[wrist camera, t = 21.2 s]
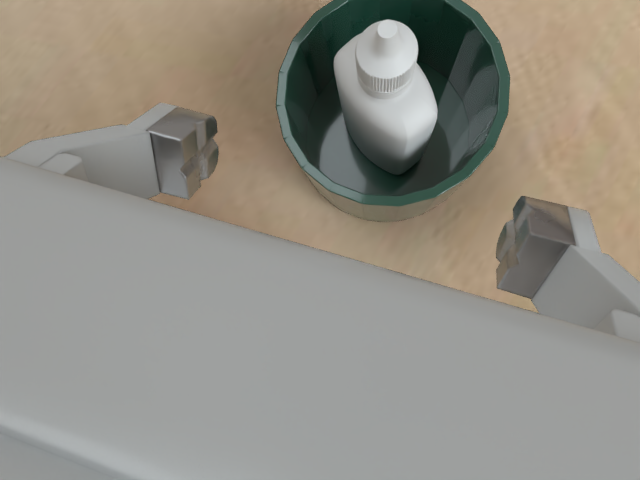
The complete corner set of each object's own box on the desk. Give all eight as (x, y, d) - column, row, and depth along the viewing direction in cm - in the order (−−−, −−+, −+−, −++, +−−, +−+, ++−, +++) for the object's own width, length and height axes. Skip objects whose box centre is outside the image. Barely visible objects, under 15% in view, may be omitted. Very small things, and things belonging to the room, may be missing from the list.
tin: (469, 227, 26) (503, 212, 19) (294, 216, 28) (267, 198, 21) (480, 54, 27) (516, -20, 20) (308, 51, 29) (286, -18, 22)
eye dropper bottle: (408, 85, 27) (434, -61, 15) (425, 171, 26) (466, 91, 15) (340, 100, 27) (313, -30, 16) (355, 185, 27) (340, 118, 15)
